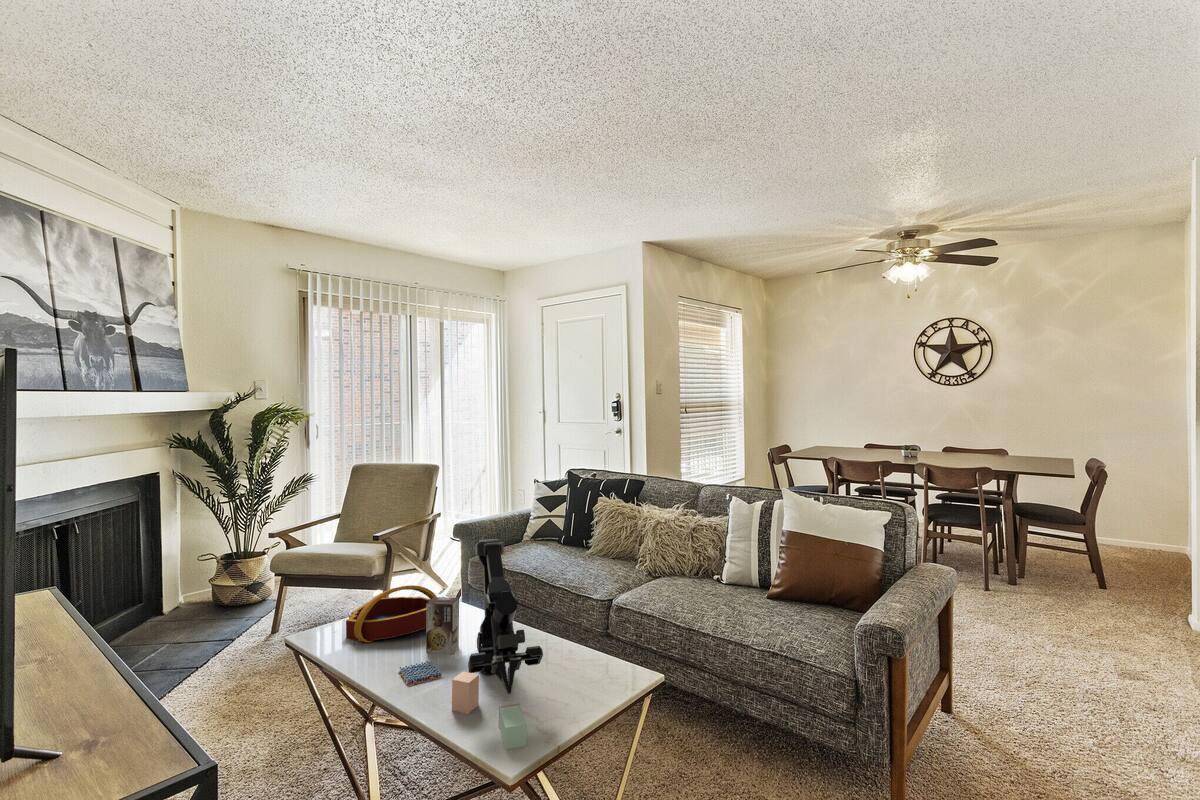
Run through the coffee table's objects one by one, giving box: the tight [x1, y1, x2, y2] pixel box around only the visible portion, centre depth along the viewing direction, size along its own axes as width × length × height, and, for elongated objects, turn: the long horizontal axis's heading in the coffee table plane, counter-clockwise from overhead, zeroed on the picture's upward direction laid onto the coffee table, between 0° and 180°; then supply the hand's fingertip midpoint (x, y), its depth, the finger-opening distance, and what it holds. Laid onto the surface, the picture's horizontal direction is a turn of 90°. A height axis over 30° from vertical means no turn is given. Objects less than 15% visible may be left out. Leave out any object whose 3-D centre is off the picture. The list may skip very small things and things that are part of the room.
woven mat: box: [398, 660, 443, 687], centre depth 170 cm, size 10×11×2 cm
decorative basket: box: [345, 584, 437, 643], centre depth 206 cm, size 34×29×15 cm
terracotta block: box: [451, 671, 480, 715], centre depth 152 cm, size 5×5×8 cm
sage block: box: [498, 703, 528, 750], centre depth 139 cm, size 5×5×10 cm
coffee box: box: [425, 597, 460, 655], centre depth 188 cm, size 9×6×16 cm
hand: (509, 693), depth 144 cm, fingers closed
